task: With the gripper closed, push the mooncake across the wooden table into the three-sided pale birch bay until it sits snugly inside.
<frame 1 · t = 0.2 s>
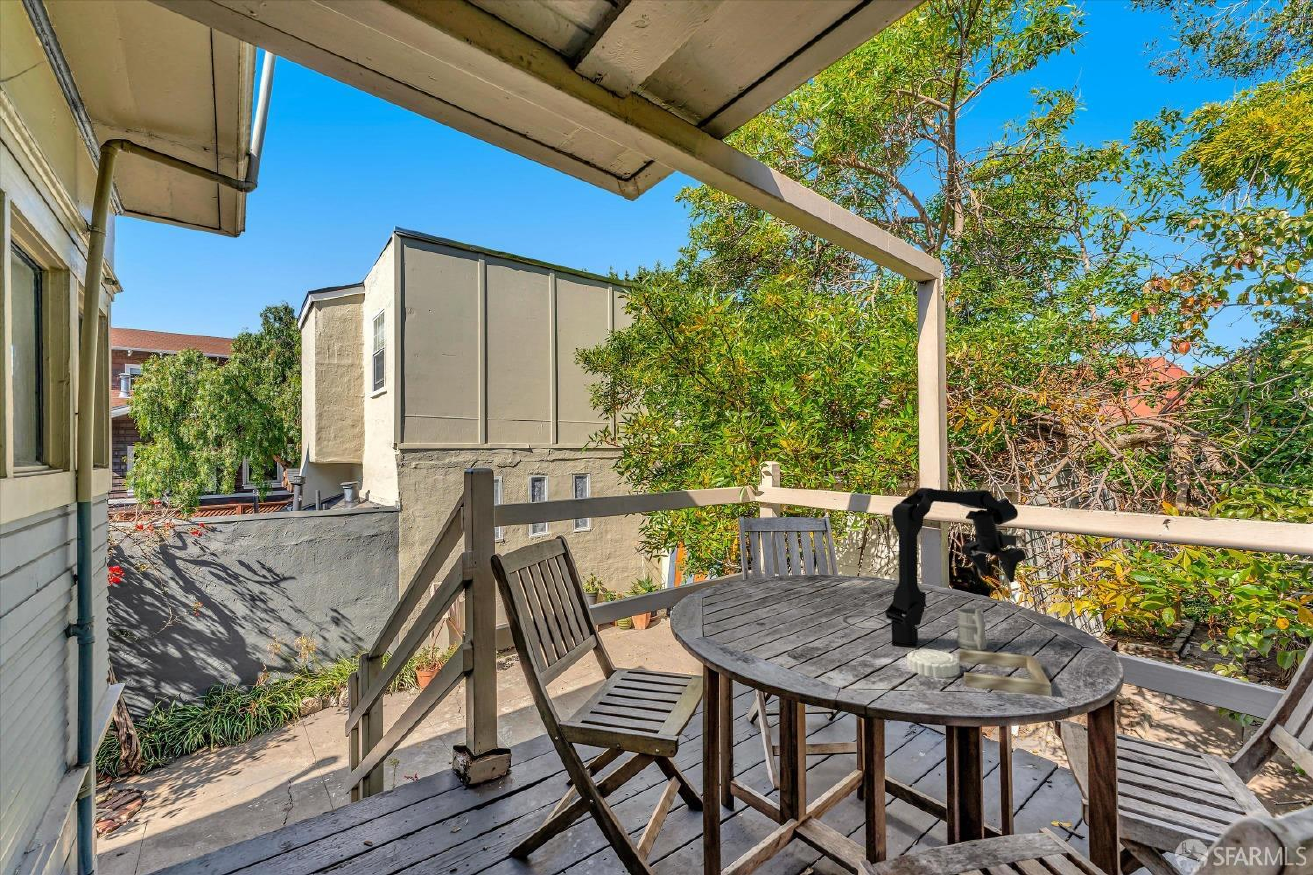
hand: (998, 578, 175), 15 cm above the table, tool pointing down, fingers open, 9 cm apart
mug: (975, 649, 159), on the table
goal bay: (996, 675, 141), on the table
mooncake: (933, 670, 146), on the table
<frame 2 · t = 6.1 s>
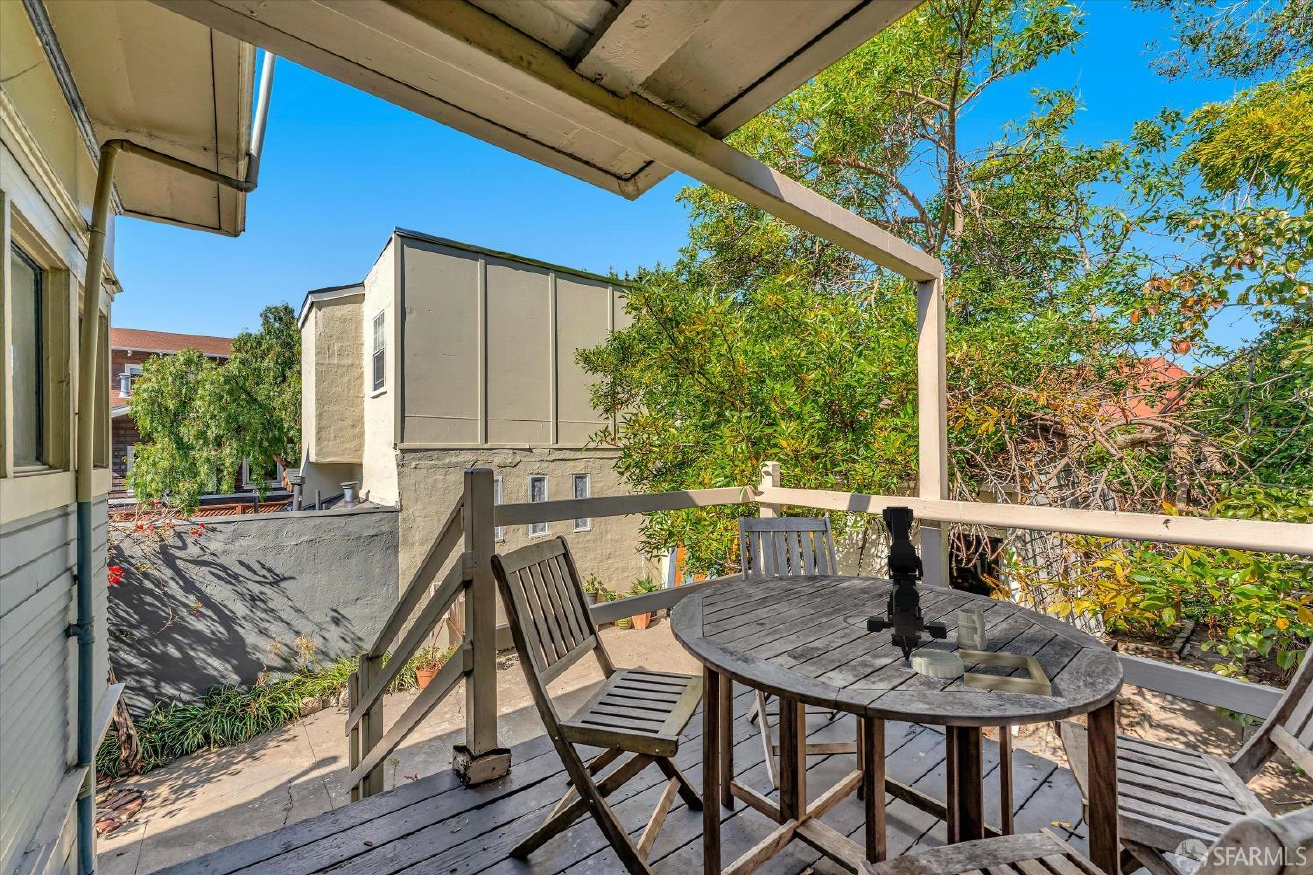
hand: (907, 660, 149), 1 cm above the table, tool pointing down, fingers closed
mooncake: (937, 670, 146), on the table, touching gripper
everything else where it was.
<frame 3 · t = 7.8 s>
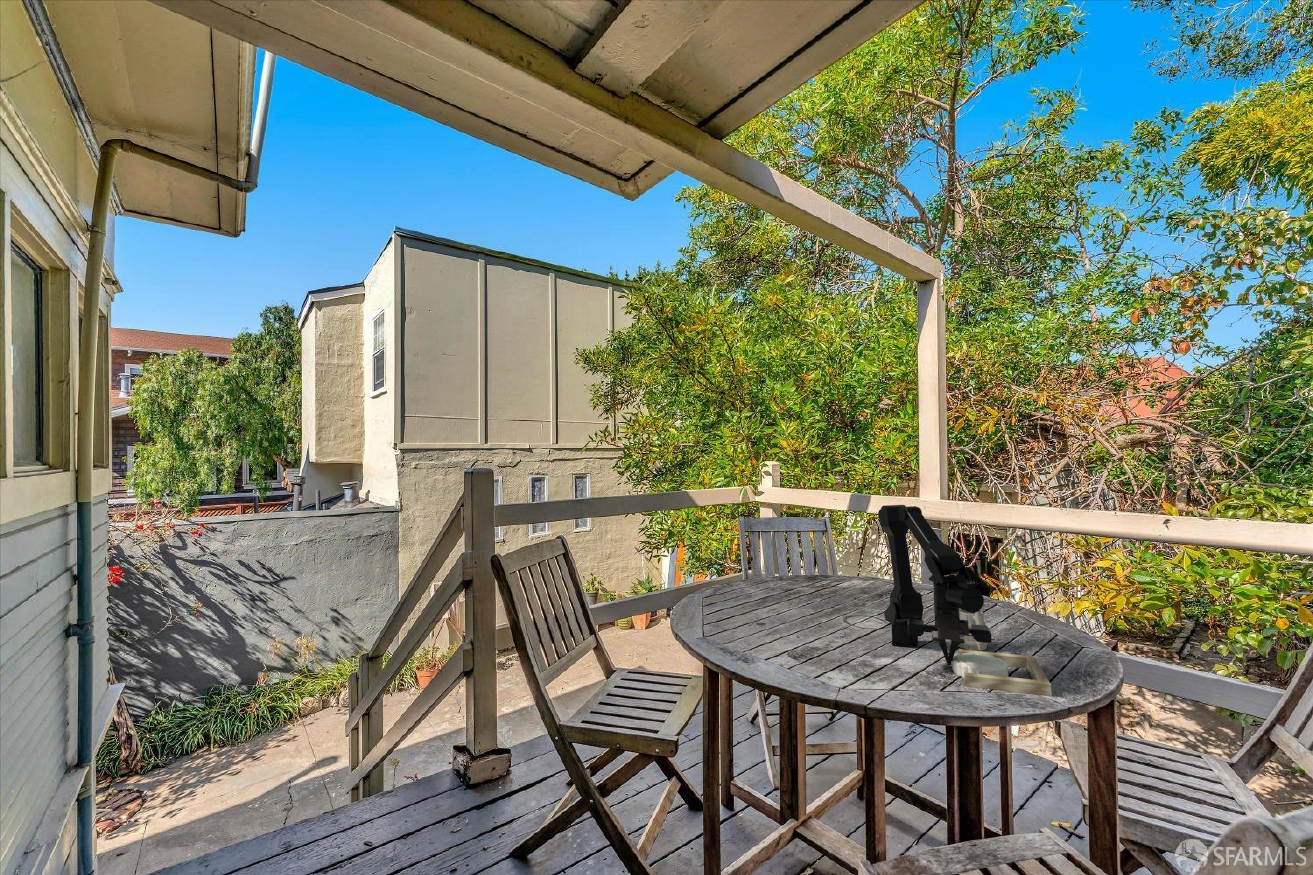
hand: (949, 664, 145), 1 cm above the table, tool pointing down, fingers closed
mooncake: (980, 674, 143), on the table
everything else where it was.
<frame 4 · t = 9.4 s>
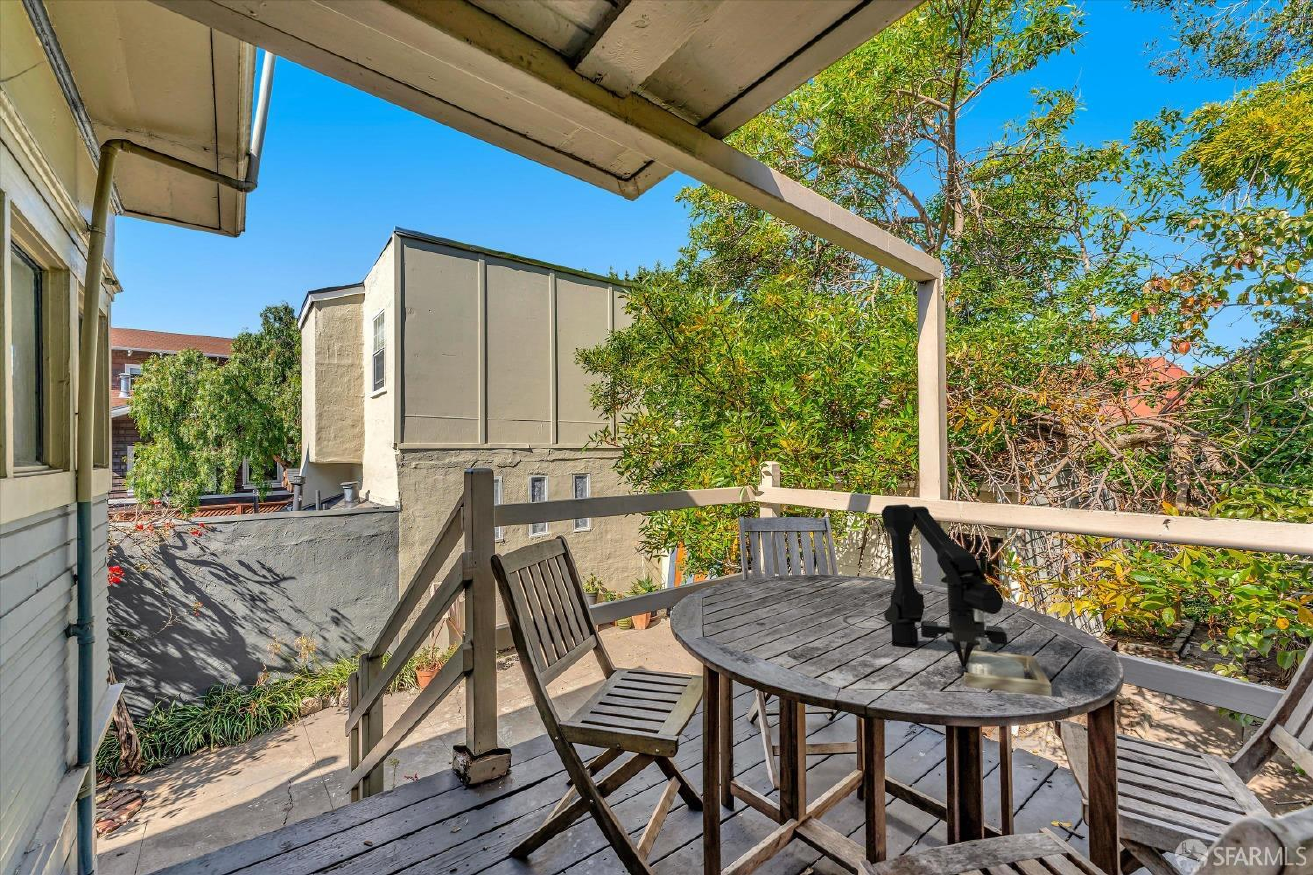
hand: (963, 666, 144), 1 cm above the table, tool pointing down, fingers closed
mooncake: (995, 676, 141), on the table, touching gripper
everything else where it was.
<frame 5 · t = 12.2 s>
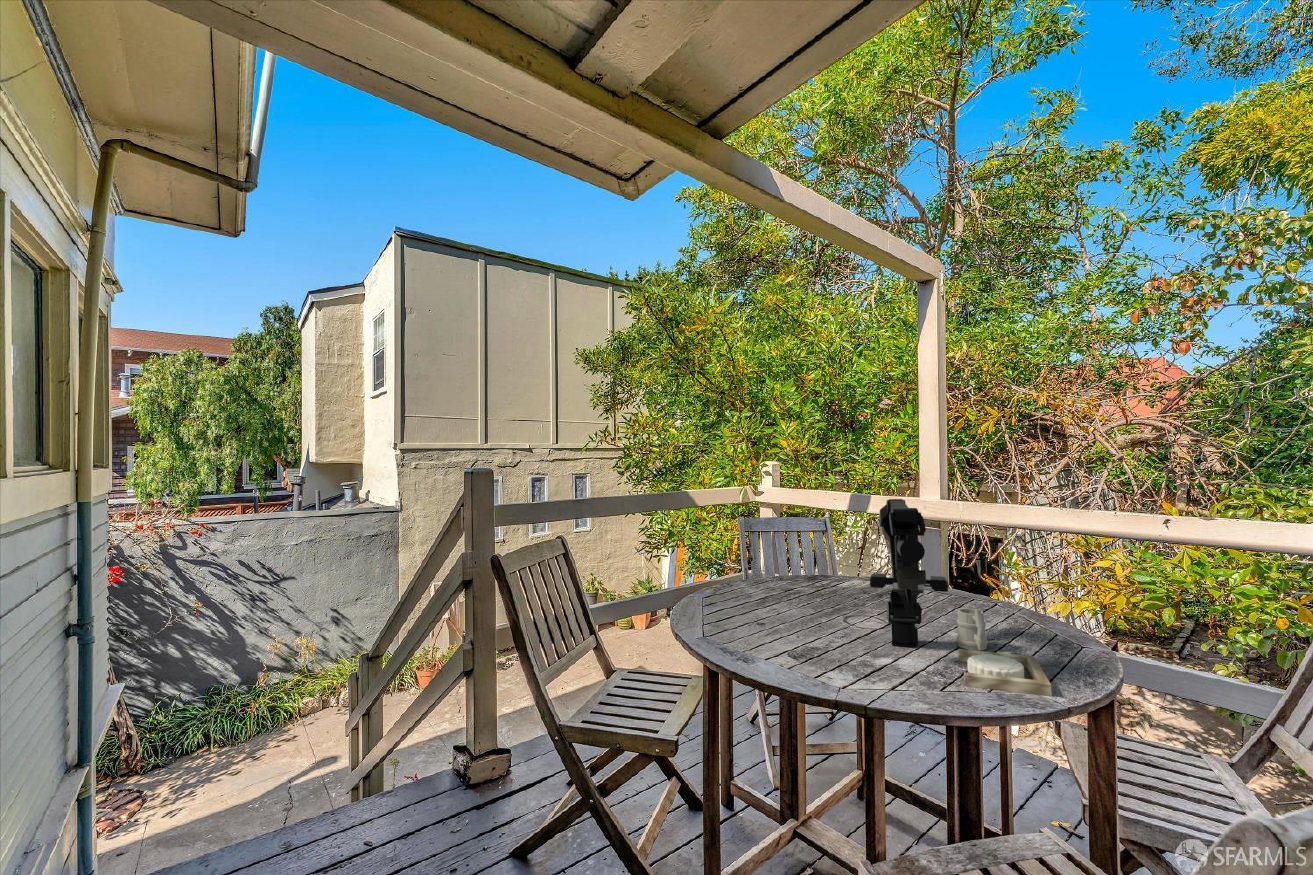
hand: (909, 614, 152), 12 cm above the table, tool pointing down, fingers closed
mooncake: (995, 676, 141), on the table
everything else where it was.
at the end: mooncake inside the target area (0.9 cm from its centre), on the table; mooncake moved 13.9 cm from its start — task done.
